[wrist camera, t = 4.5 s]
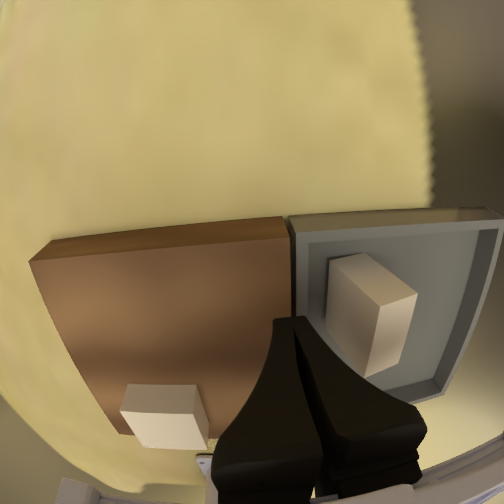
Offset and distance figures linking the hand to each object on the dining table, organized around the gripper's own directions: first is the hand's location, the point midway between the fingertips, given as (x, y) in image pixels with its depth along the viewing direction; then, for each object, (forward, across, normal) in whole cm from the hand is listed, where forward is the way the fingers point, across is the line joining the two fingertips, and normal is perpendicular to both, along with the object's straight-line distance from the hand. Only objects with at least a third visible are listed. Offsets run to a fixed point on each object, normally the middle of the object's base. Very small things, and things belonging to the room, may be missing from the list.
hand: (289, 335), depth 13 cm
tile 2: (+1, +7, +6) cm, 9 cm away
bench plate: (+3, +6, +3) cm, 7 cm away
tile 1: (+1, -3, 0) cm, 3 cm away
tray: (+3, -6, +3) cm, 8 cm away
